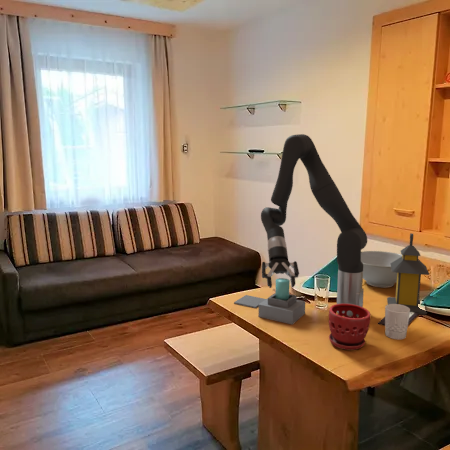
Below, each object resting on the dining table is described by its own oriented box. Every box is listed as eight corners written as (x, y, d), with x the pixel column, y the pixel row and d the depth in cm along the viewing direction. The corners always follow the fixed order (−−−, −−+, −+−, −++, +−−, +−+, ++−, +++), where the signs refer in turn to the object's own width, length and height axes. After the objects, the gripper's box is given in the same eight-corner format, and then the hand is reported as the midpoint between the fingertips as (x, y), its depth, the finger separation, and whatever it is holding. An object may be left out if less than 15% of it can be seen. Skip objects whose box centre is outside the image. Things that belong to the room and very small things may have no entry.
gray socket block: (304, 313, 175) (305, 295, 174) (292, 324, 165) (292, 305, 164) (272, 306, 182) (272, 288, 181) (258, 316, 172) (258, 298, 171)
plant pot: (334, 354, 143) (335, 318, 141) (323, 336, 156) (324, 303, 153) (374, 353, 144) (377, 317, 141) (360, 334, 156) (362, 302, 154)
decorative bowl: (376, 271, 228) (378, 248, 226) (423, 286, 206) (425, 260, 203) (337, 280, 215) (339, 255, 212) (383, 297, 192) (385, 270, 190)
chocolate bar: (377, 322, 165) (394, 308, 179) (377, 325, 165) (394, 310, 179) (402, 329, 160) (418, 313, 173) (402, 331, 160) (418, 315, 174)
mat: (266, 300, 189) (266, 299, 189) (255, 308, 181) (255, 306, 181) (245, 296, 194) (245, 294, 194) (234, 303, 186) (234, 302, 186)
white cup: (396, 342, 151) (398, 314, 149) (378, 333, 158) (380, 306, 156) (412, 337, 154) (415, 309, 152) (394, 328, 161) (396, 302, 159)
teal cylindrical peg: (291, 302, 174) (291, 279, 172) (285, 306, 169) (286, 283, 168) (278, 299, 176) (279, 277, 175) (273, 303, 172) (273, 281, 170)
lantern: (388, 311, 177) (393, 236, 171) (387, 298, 191) (391, 229, 185) (427, 315, 173) (433, 238, 167) (423, 302, 186) (429, 231, 181)
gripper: (260, 245, 178) (264, 282, 169) (296, 245, 179) (302, 282, 170) (258, 255, 184) (262, 291, 175) (293, 254, 185) (298, 290, 176)
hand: (281, 286), depth 173 cm, fingers open, 8 cm apart
